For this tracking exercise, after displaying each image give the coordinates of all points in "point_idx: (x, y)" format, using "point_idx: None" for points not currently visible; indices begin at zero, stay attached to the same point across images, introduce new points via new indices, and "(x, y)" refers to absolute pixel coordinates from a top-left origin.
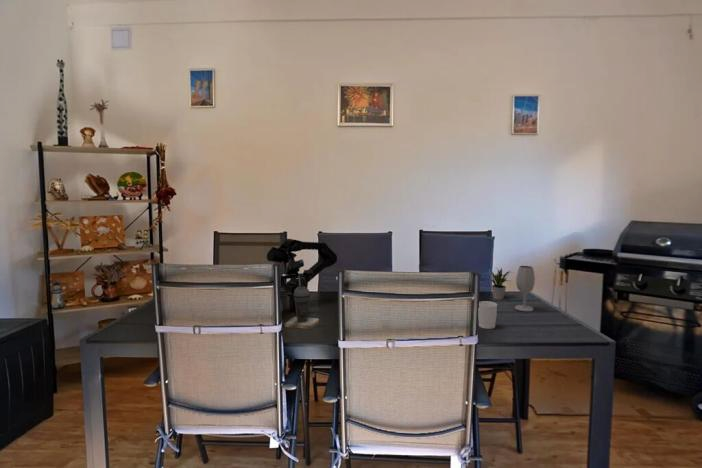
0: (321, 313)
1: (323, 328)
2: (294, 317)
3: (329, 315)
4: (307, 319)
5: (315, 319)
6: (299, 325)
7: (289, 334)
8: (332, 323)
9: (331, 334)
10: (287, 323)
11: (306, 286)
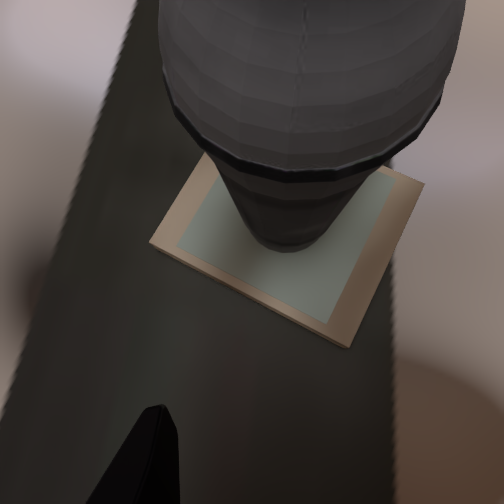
0: (83, 480)
1: (158, 116)
2: (345, 321)
3: (35, 396)
4: (242, 234)
5: (180, 227)
6: None
7: None
8: (75, 197)
9: (138, 19)
10: (405, 180)
11: (121, 484)
